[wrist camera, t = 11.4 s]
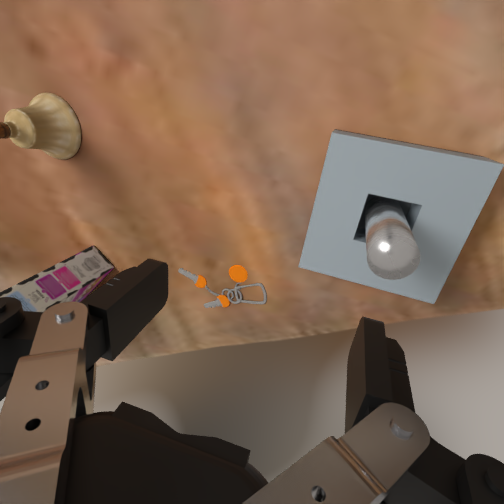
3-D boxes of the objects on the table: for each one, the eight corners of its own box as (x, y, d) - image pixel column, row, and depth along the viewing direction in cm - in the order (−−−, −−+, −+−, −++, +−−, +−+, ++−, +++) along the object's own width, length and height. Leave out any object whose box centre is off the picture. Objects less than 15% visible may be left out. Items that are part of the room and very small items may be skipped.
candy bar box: (92, 242, 49) (-17, 298, 35) (116, 266, 49) (17, 331, 35) (63, 278, 54) (-43, 340, 40) (84, 300, 55) (-12, 368, 40)
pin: (370, 191, 33) (375, 229, 23) (406, 199, 32) (428, 242, 22) (360, 223, 35) (360, 272, 24) (394, 231, 34) (409, 285, 24)
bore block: (335, 129, 33) (331, 132, 28) (482, 156, 30) (504, 164, 26) (305, 249, 39) (298, 266, 35) (424, 280, 36) (433, 304, 32)
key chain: (261, 261, 42) (259, 263, 41) (269, 308, 45) (268, 311, 44) (177, 264, 46) (175, 267, 45) (190, 307, 49) (187, 310, 48)
